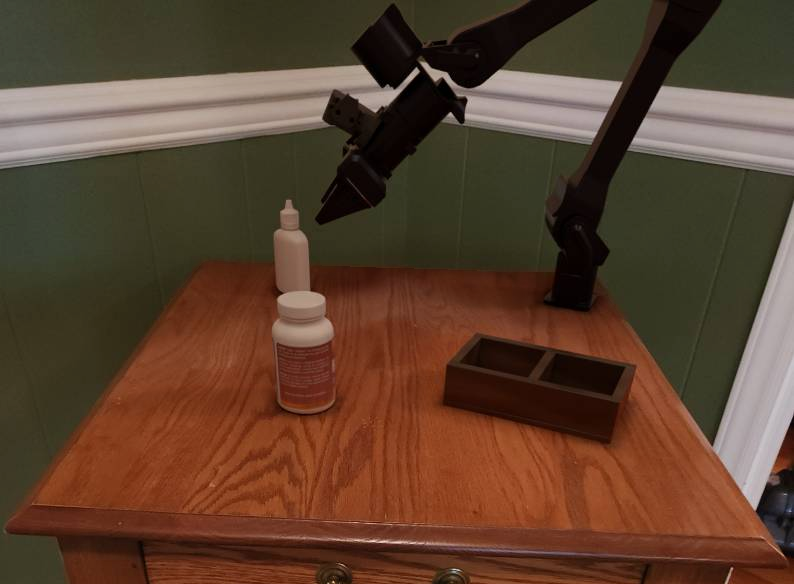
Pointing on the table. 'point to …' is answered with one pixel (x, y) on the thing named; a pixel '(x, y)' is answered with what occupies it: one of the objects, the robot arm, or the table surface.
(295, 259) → the eye dropper bottle
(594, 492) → the table surface
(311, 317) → the pill bottle
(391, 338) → the table surface
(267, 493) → the table surface
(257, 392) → the table surface
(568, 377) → the box
